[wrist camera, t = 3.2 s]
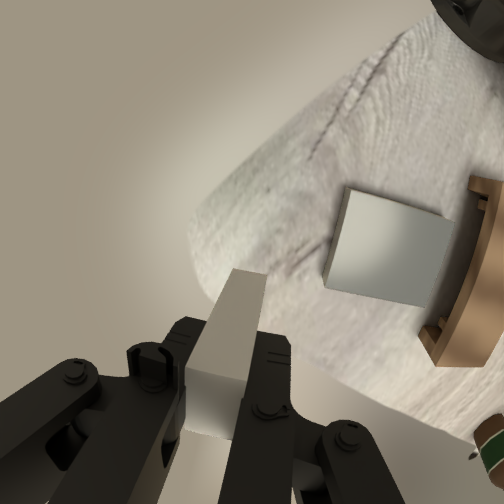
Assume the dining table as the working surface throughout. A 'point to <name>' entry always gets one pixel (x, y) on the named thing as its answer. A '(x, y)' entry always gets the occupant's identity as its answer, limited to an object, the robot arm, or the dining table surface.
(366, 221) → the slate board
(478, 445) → the beer bottle
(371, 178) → the dining table surface
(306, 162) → the dining table surface
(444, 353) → the walnut arch bridge
